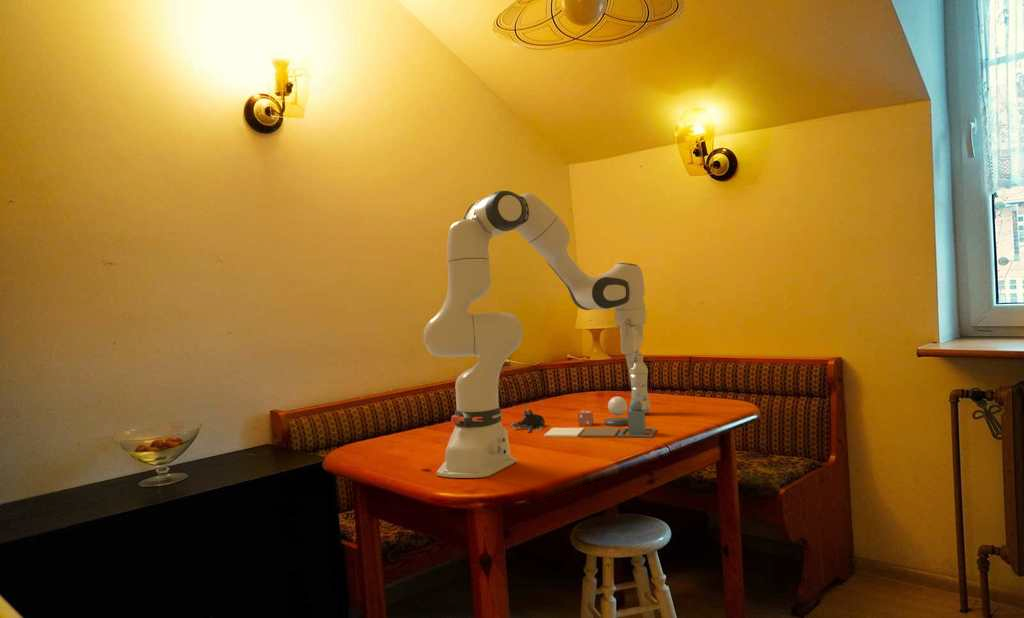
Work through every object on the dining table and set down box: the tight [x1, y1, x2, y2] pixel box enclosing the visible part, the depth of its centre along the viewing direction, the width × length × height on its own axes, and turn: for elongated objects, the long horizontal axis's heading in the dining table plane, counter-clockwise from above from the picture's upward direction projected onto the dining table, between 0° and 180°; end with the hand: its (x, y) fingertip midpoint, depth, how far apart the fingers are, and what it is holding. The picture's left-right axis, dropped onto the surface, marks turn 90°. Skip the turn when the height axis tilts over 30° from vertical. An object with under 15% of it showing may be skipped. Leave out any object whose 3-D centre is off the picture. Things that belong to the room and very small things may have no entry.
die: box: [577, 410, 595, 427], centre depth 227 cm, size 4×4×4 cm
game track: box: [543, 427, 657, 439], centre depth 213 cm, size 10×32×1 cm, turn 72°
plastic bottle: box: [628, 353, 651, 414], centre depth 239 cm, size 6×7×20 cm
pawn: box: [626, 400, 647, 435], centre depth 209 cm, size 4×4×10 cm
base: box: [603, 416, 628, 427], centre depth 226 cm, size 9×9×1 cm
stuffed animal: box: [510, 408, 546, 434], centre depth 228 cm, size 12×10×12 cm
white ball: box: [607, 396, 628, 417], centre depth 226 cm, size 6×6×6 cm
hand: (633, 365), depth 209 cm, fingers open, 8 cm apart
